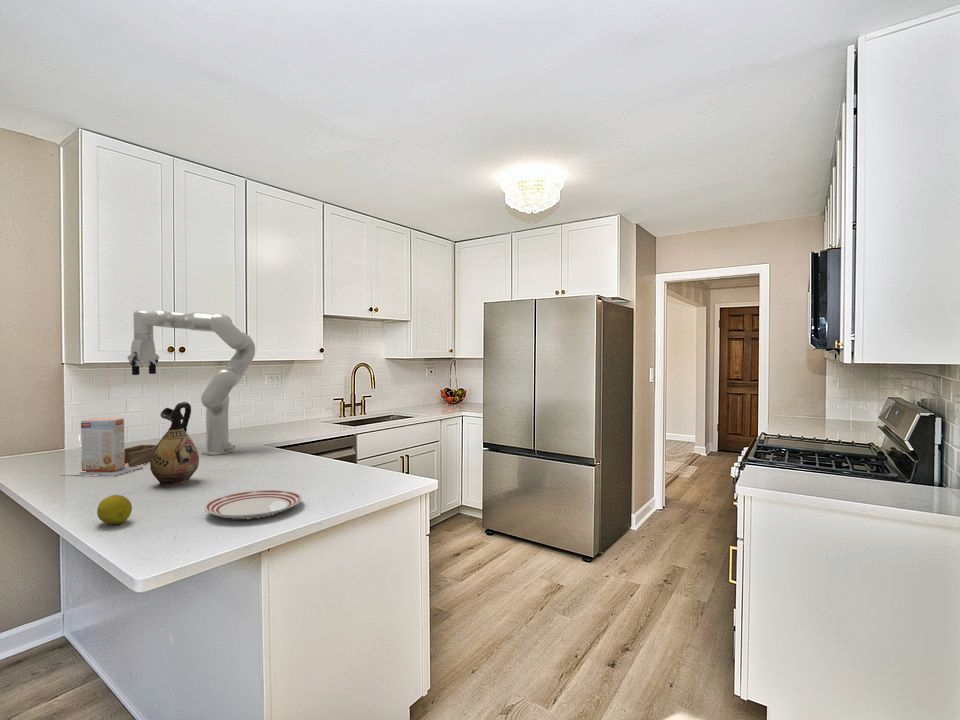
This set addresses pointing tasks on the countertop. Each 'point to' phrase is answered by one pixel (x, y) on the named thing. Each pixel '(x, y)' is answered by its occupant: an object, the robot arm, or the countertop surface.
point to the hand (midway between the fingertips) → (144, 374)
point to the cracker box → (102, 444)
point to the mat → (111, 472)
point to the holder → (139, 454)
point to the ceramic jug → (175, 450)
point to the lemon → (114, 509)
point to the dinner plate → (251, 503)
